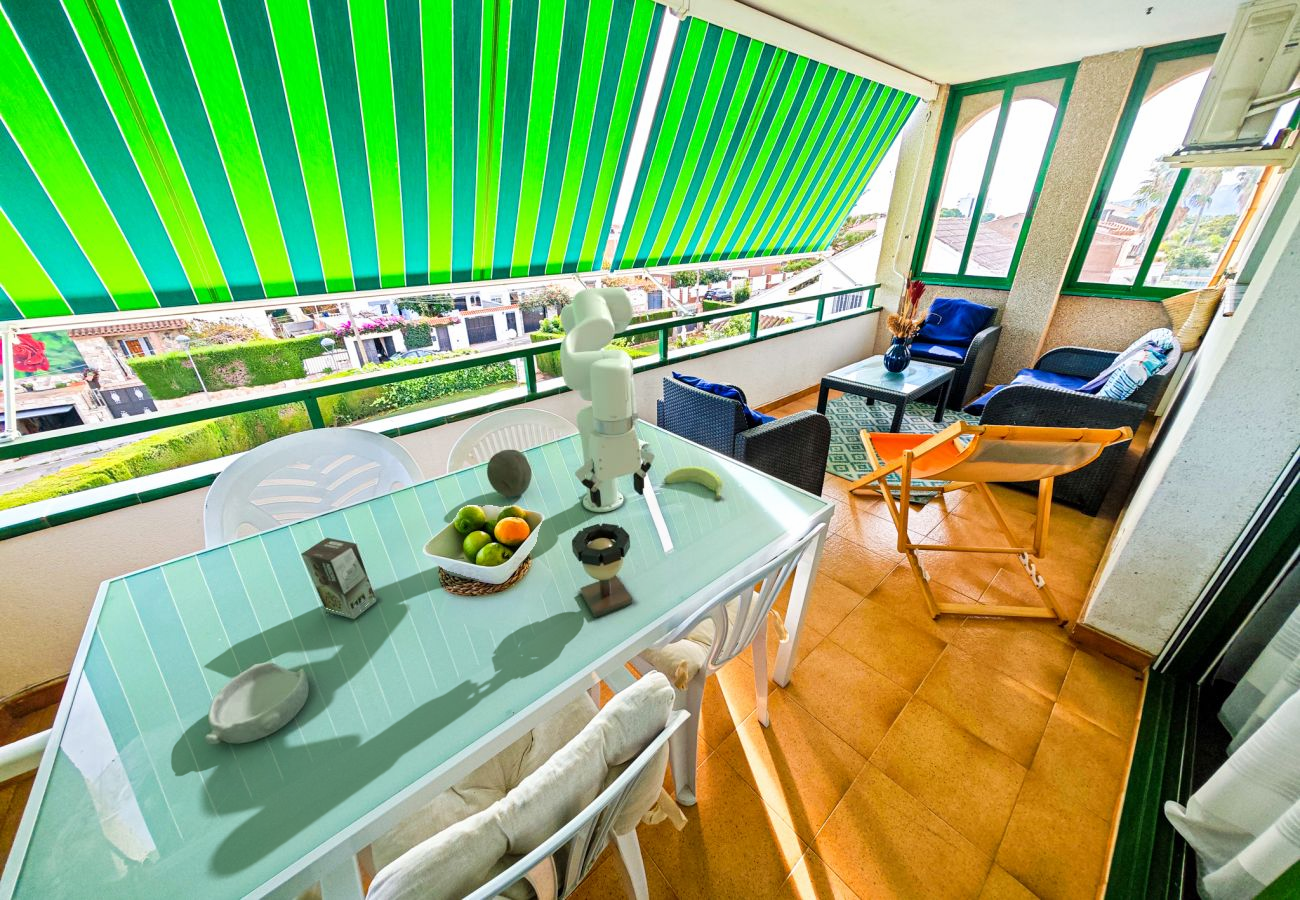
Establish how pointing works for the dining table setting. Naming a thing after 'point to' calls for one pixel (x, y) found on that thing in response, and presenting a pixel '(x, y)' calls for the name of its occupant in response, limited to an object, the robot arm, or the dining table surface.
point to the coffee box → (339, 577)
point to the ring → (603, 555)
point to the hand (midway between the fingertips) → (618, 498)
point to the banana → (696, 477)
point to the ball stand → (604, 584)
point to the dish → (256, 703)
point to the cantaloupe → (509, 473)
